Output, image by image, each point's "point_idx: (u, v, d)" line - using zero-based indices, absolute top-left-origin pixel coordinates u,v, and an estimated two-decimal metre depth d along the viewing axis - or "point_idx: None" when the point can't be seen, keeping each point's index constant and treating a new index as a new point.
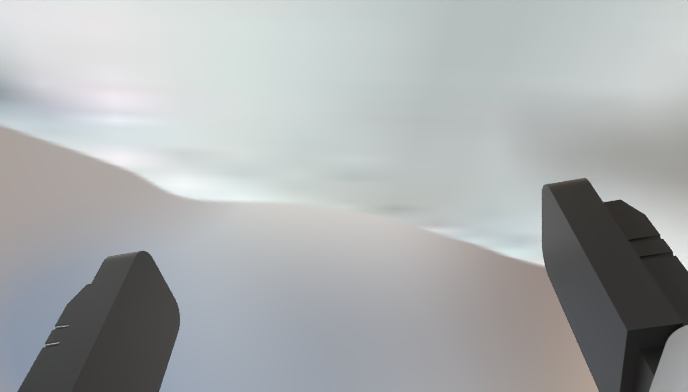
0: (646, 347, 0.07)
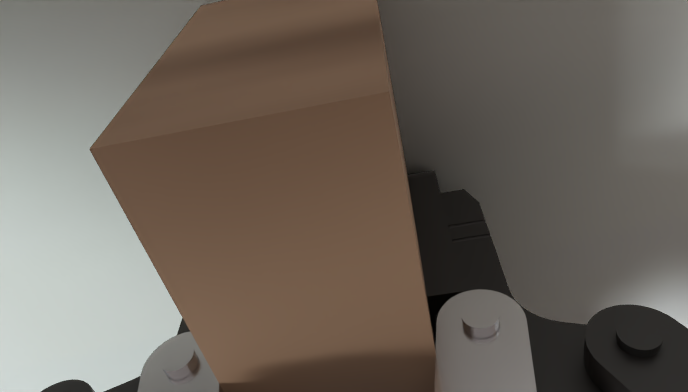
0: (439, 312, 0.08)
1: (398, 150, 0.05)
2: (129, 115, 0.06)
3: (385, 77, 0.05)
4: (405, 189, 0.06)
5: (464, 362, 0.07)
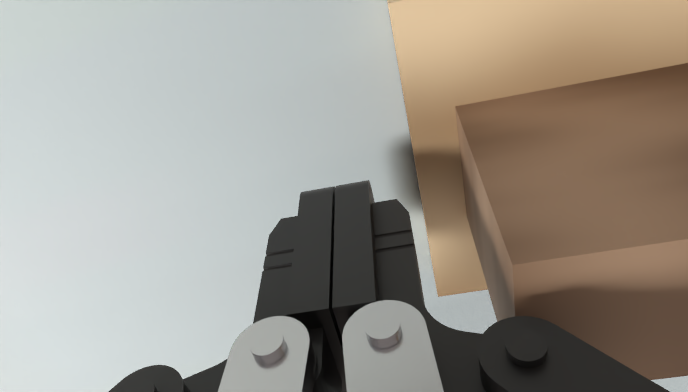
0: None
1: None
2: None
3: None
4: None
5: (361, 372, 0.07)
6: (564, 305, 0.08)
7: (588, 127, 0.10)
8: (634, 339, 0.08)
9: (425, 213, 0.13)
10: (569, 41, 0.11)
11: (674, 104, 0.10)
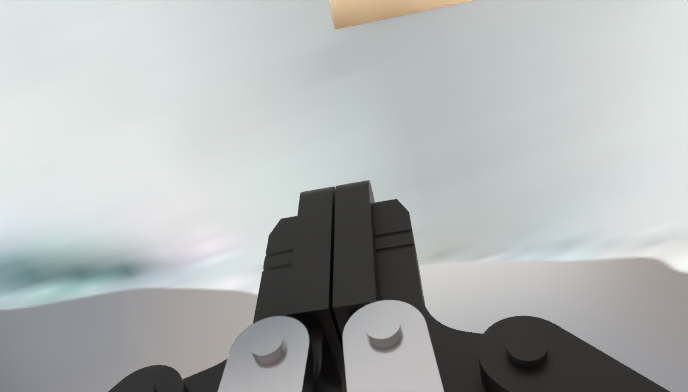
0: None
1: None
2: None
3: None
4: None
5: (362, 372, 0.07)
6: None
7: None
8: None
9: None
10: None
11: None
